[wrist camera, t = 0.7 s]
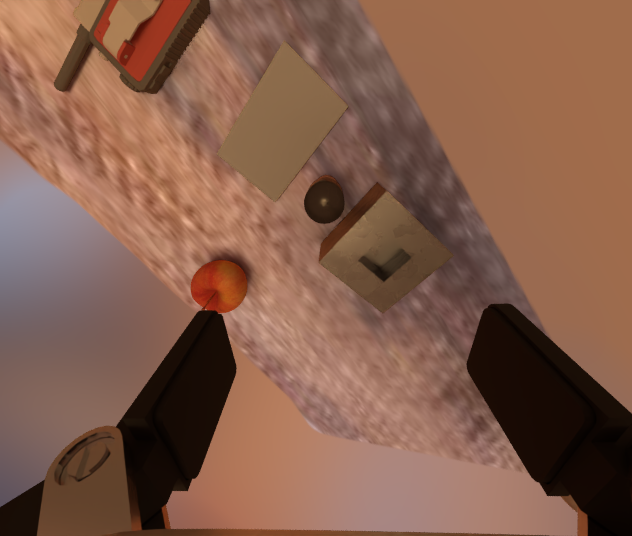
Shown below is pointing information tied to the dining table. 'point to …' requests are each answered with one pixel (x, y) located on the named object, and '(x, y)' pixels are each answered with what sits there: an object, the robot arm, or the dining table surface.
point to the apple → (219, 286)
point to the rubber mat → (281, 124)
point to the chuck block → (381, 250)
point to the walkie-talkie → (135, 38)
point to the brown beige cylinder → (324, 200)
